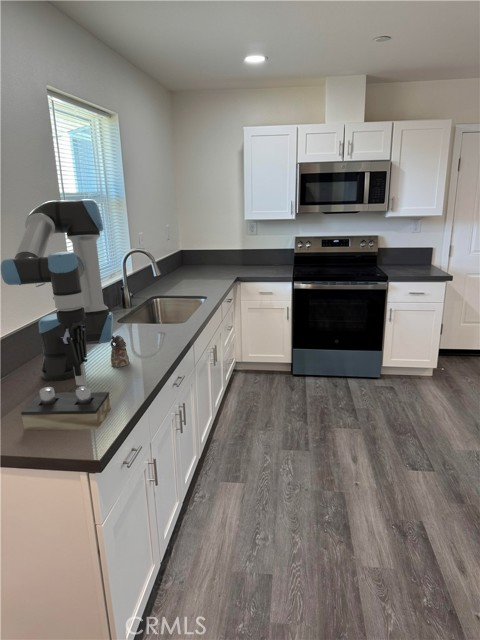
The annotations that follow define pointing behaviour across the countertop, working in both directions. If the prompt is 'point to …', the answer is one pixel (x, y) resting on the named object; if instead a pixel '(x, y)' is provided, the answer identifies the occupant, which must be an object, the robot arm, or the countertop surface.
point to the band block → (66, 412)
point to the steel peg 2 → (83, 395)
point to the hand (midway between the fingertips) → (81, 384)
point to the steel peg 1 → (47, 396)
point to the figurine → (119, 352)
